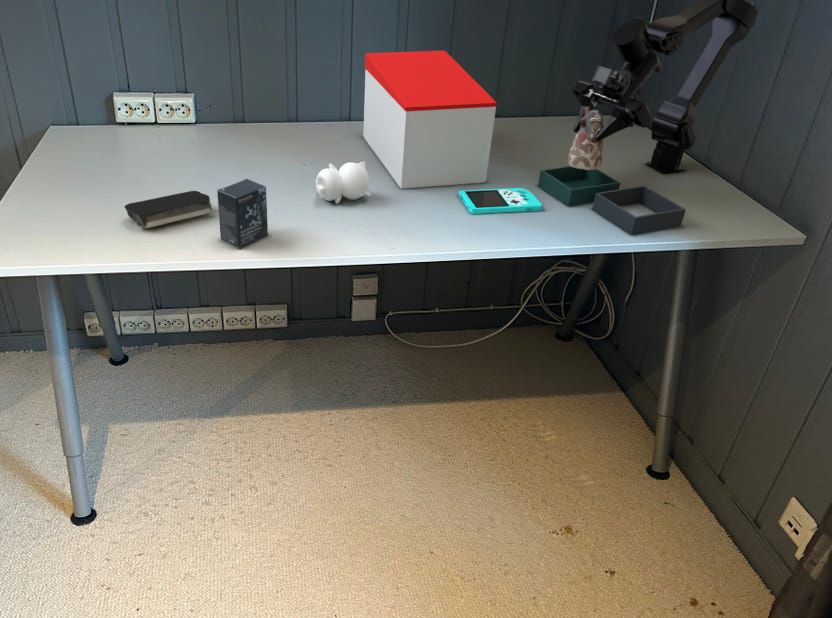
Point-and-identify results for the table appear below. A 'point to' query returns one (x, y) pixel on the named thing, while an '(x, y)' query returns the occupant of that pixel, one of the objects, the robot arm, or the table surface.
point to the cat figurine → (343, 182)
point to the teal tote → (575, 184)
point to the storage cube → (427, 119)
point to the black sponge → (169, 208)
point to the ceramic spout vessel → (587, 142)
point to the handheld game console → (499, 200)
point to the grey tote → (663, 218)
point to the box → (242, 213)
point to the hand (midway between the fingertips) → (585, 135)
